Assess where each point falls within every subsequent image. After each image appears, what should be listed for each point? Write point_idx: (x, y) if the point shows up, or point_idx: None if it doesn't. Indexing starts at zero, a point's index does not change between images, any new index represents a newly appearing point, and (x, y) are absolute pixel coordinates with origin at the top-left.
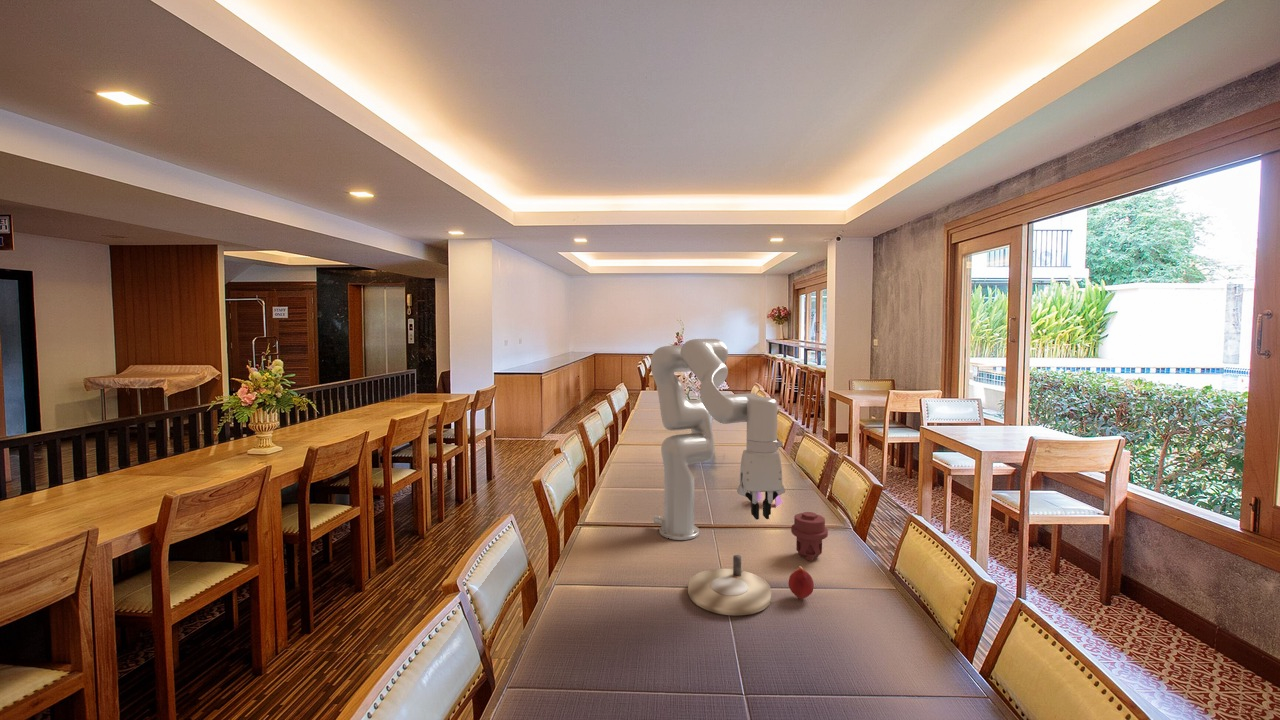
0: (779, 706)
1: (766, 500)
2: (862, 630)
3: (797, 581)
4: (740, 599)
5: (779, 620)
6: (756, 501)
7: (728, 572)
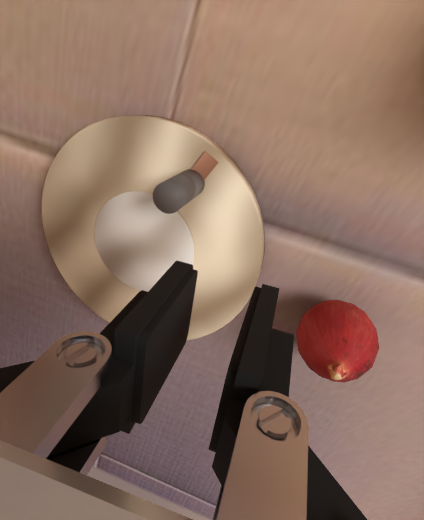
0: (131, 480)
1: (215, 469)
2: (373, 449)
3: (307, 365)
4: None
5: (223, 360)
6: (99, 443)
7: (170, 156)
